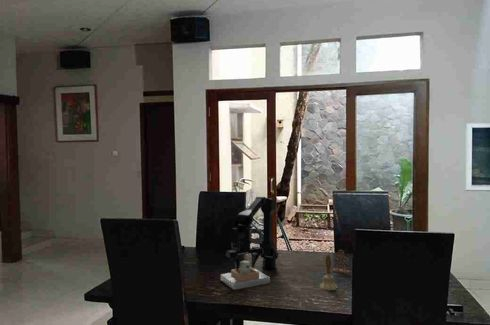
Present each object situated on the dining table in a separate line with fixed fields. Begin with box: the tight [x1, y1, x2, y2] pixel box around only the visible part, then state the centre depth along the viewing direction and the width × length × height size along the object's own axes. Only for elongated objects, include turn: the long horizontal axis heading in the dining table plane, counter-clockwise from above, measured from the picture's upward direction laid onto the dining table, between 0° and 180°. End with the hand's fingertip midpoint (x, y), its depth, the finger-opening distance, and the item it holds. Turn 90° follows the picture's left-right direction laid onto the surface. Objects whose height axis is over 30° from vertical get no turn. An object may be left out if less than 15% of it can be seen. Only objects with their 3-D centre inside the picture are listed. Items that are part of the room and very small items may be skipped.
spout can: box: [239, 260, 251, 275], centre depth 205 cm, size 5×7×7 cm
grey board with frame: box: [220, 266, 271, 291], centre depth 206 cm, size 20×16×6 cm
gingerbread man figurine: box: [331, 249, 351, 275], centre depth 220 cm, size 9×4×12 cm, turn 60°
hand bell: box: [319, 254, 338, 291], centre depth 196 cm, size 8×8×16 cm
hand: (244, 269), depth 206 cm, fingers open, 8 cm apart
